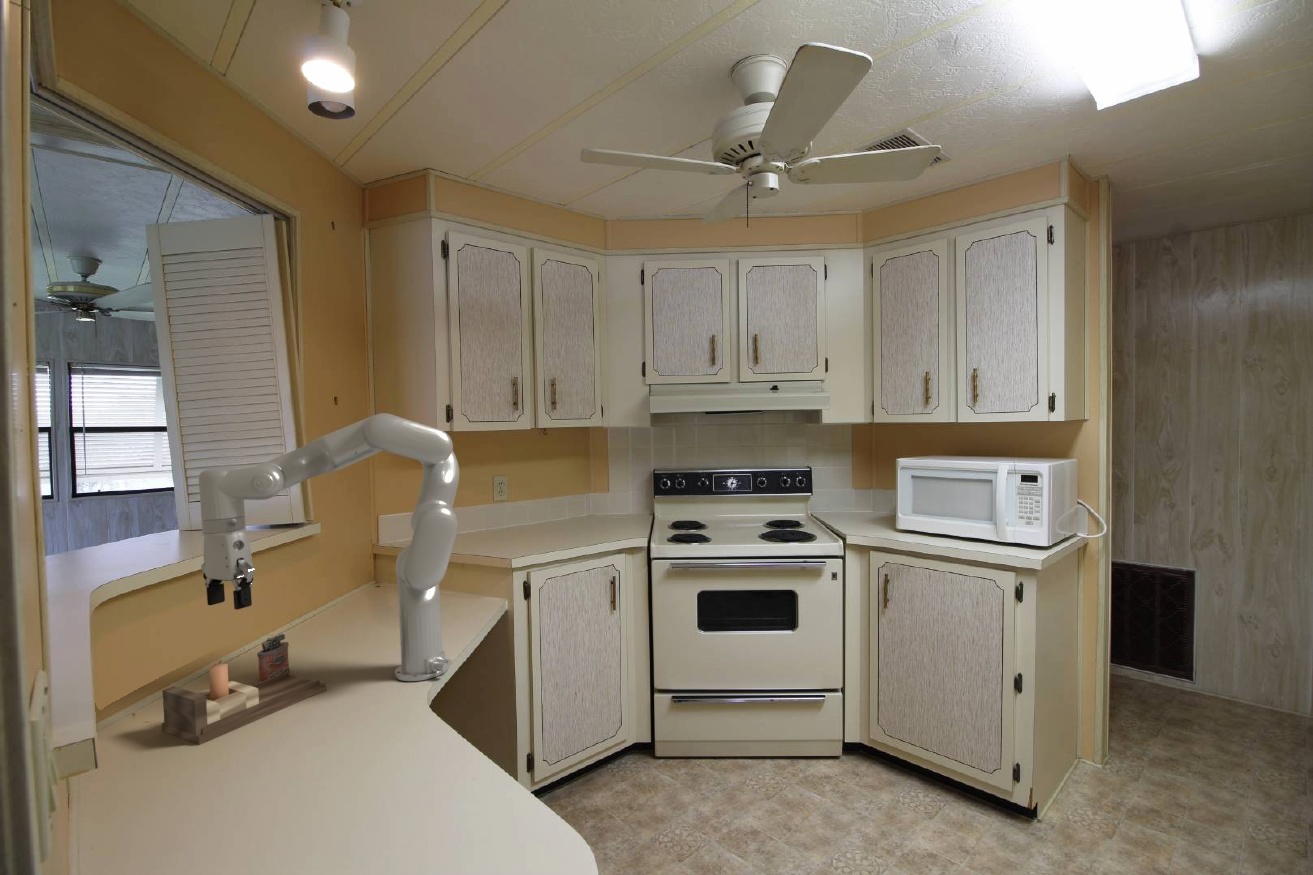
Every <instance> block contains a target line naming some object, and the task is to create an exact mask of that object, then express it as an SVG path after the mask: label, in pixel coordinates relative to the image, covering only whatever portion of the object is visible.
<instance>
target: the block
mask: <svg viewBox="0 0 1313 875" xmlns="http://www.w3.org/2000/svg"><path fill="white" fill-rule="evenodd" d="M228 684H229V695H227V696H225V697H222V698H220V699H217V700H214V701H210V688H208V689H205V690H202V691H200V692H196V693H197V694H200V695H204V696H206V705H207V725H208V724H211V723H213V722H216V721H218V720H221V719H223V718H225V717H228V716H230V715H233V714H235V713H238V712H240V711H242V710H245V709H247V708H250V707H252V706H255V705H257V704H259V695H258V688H255V687H252V686H251V685H248V684H244V683H241V682H237V681H234V680H230V681H229V680H228Z"/></svg>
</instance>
